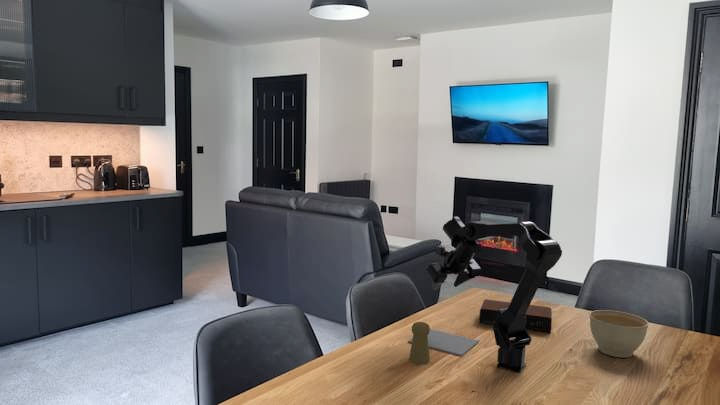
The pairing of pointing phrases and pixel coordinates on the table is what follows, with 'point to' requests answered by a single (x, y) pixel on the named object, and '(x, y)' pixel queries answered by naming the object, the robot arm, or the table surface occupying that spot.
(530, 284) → the robot arm
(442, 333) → the mat
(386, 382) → the table surface
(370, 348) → the table surface
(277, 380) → the table surface
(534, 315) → the dark brown rectangular block
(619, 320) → the planter bowl
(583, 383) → the table surface
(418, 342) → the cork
